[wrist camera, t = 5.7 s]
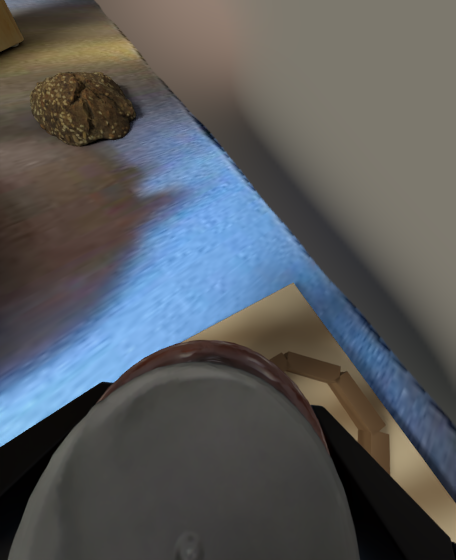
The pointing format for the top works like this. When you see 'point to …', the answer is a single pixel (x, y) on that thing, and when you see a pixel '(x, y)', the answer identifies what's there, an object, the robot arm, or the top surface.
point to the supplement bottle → (192, 469)
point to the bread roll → (81, 107)
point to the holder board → (334, 389)
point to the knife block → (8, 29)
